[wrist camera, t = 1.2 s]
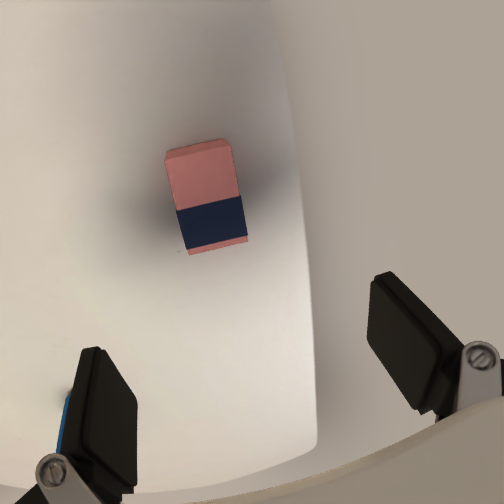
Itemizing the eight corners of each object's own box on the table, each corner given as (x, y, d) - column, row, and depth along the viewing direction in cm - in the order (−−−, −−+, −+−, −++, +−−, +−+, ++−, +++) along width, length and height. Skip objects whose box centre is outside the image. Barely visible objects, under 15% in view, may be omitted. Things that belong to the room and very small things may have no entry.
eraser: (165, 151, 21) (163, 160, 18) (224, 138, 21) (231, 144, 18) (187, 235, 24) (188, 256, 21) (240, 223, 24) (249, 241, 21)
